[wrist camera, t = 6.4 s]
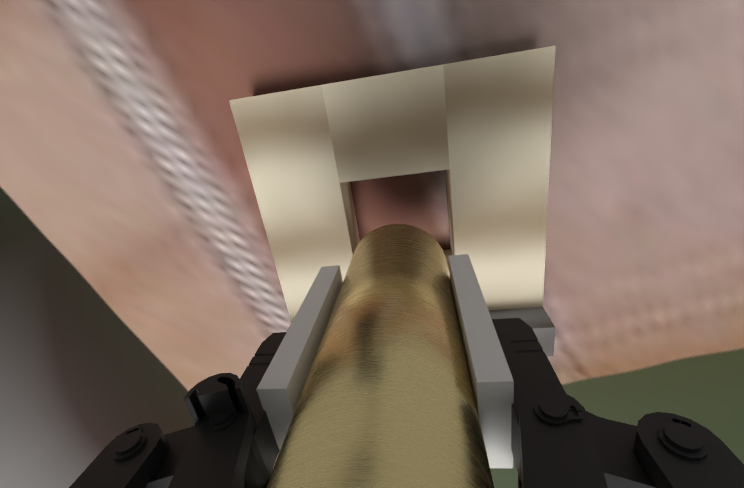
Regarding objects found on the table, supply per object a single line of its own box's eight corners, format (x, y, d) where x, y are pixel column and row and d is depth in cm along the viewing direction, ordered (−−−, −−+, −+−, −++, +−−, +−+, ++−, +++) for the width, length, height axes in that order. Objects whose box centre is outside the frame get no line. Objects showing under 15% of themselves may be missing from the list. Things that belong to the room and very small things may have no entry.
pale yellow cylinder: (344, 229, 16) (187, 536, 5) (443, 218, 15) (529, 548, 4) (359, 311, 17) (269, 683, 6) (449, 305, 17) (523, 709, 6)
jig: (252, 99, 21) (208, 101, 16) (534, 52, 19) (574, 39, 14) (309, 320, 27) (289, 367, 22) (527, 307, 25) (553, 355, 20)
